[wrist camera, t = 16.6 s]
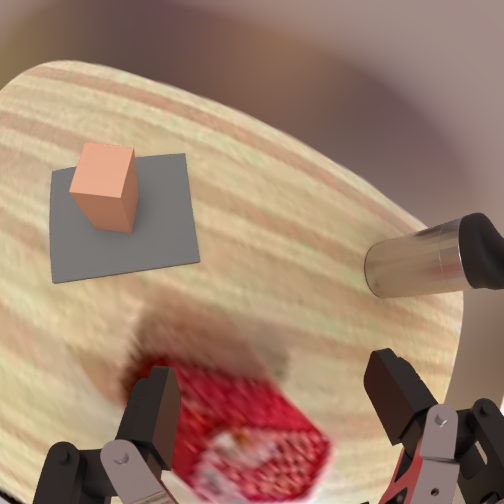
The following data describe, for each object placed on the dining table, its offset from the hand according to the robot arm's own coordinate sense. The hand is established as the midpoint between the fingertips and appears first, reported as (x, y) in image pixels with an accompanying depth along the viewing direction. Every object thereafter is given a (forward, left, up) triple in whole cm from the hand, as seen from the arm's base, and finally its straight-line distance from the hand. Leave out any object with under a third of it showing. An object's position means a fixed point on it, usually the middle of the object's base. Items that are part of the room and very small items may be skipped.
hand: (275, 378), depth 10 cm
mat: (+7, -15, -22) cm, 27 cm away
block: (+7, -15, -21) cm, 26 cm away
